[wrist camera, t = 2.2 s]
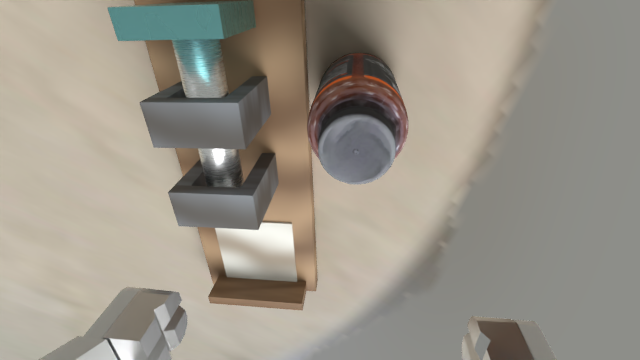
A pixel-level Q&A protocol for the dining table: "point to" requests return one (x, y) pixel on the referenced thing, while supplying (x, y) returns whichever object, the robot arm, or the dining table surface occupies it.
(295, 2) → the rail
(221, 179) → the shaft
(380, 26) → the dining table surface
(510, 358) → the robot arm
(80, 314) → the dining table surface
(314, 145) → the supplement bottle
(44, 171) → the dining table surface
